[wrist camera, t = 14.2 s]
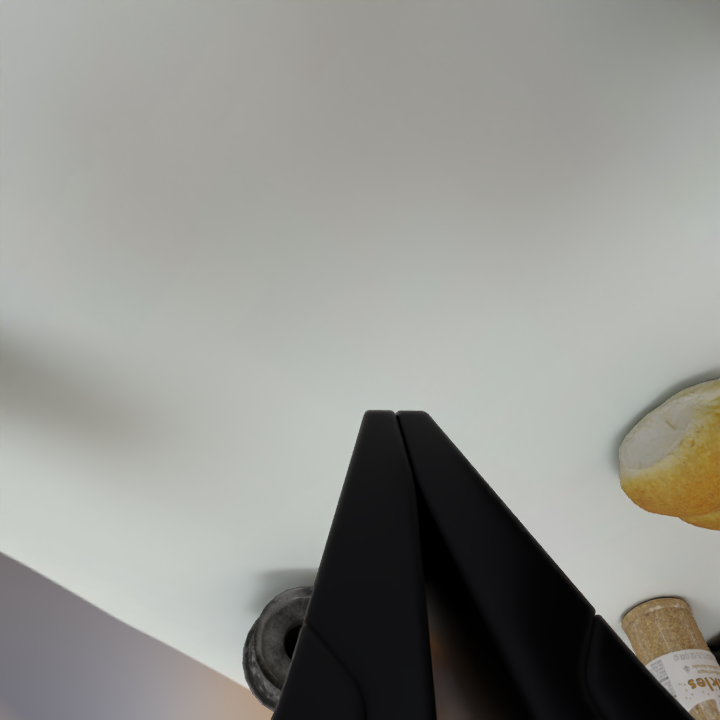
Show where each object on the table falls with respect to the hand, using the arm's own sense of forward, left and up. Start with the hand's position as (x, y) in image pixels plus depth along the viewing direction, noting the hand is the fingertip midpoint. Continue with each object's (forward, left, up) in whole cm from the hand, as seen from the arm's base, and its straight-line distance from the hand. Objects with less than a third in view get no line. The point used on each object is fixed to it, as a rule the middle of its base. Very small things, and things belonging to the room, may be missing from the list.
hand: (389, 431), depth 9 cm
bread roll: (-19, +14, -13) cm, 27 cm away
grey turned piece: (-1, +25, -9) cm, 27 cm away
